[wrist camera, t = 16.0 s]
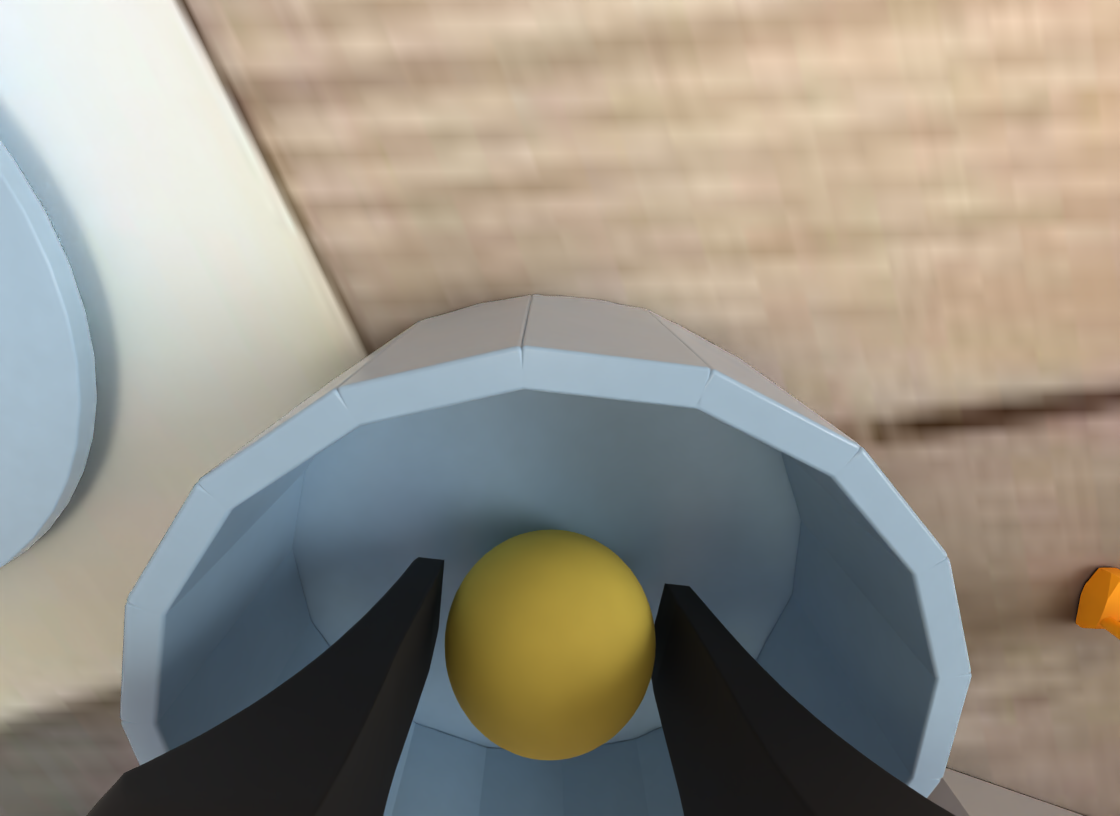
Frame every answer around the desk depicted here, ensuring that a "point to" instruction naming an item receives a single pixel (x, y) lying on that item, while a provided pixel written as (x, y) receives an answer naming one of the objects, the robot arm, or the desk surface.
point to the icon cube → (987, 799)
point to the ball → (550, 644)
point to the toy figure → (1101, 602)
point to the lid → (39, 369)
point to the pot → (560, 504)
